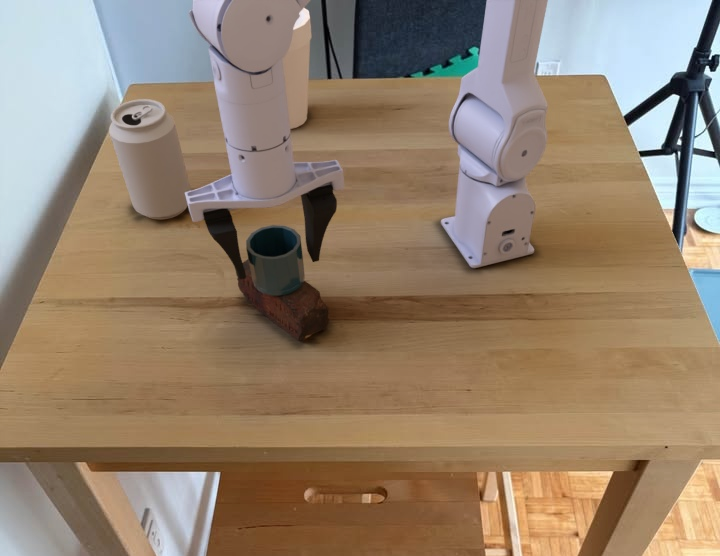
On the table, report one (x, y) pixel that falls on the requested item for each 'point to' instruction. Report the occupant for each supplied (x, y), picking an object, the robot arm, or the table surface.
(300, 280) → the cup
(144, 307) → the table surface
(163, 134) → the can
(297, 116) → the foam cup
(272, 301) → the brick
